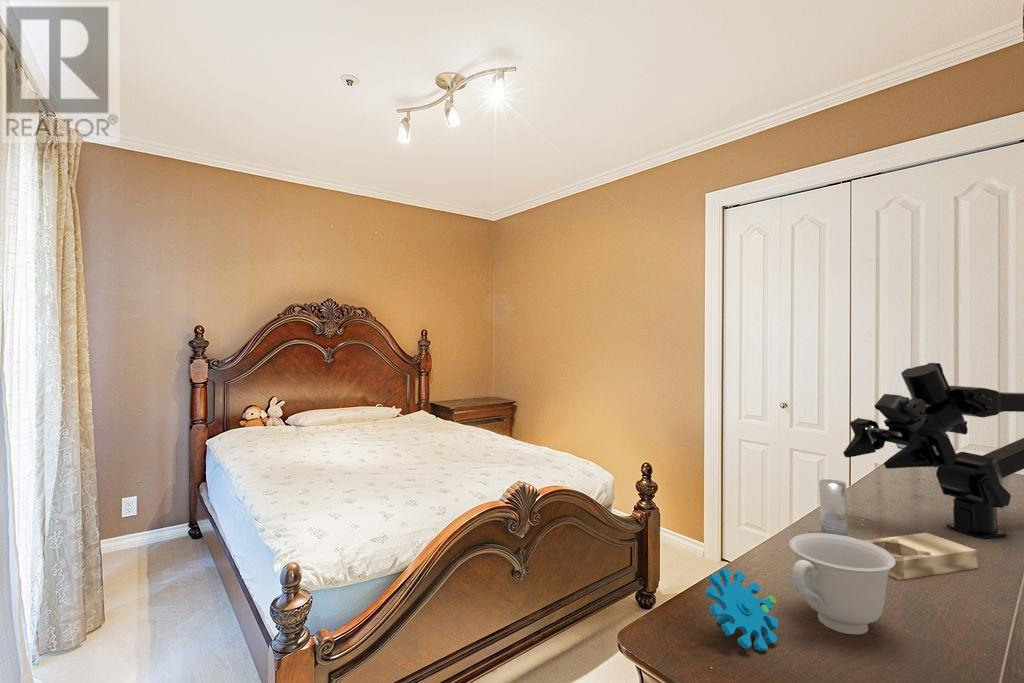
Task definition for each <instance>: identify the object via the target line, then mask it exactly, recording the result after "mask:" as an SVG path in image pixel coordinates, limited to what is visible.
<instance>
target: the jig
mask: <svg viewBox="0 0 1024 683" xmlns="http://www.w3.org/2000/svg"><path fill="white" fill-rule="evenodd" d="M863 541H866V542H869V543H872V544H874V545H877V546H879V547H881V548H883V549H884V550H886V551H887V552H889V553H890V554H891V555H892V556H893V557H894V559H895V565H894V566H893V567H892V568H890V570H889V572H888V577H891V578H894V579H896V580H897V581H900V580H907V579H915V578H921V577H927V576H935V575H939V574H941V575H942V574H947V573H956V572H961V571H968V570H976V569H978V567H979V566H978V550H977V549H975V548H972V547H969V546H967V545H964V544H960V543H958V542H955V541H952V540H950V539H946V538H943V537H940V536H938V535H935V534H933V533H929V532H922V533H921V532H919V533H913V534H905V535H897V536H896V535H895V536H888V537H882V538H874V539H866V540H865V539H864V540H863ZM975 568H976V569H975Z"/></svg>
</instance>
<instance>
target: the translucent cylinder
mask: <svg viewBox="0 0 1024 683" xmlns="http://www.w3.org/2000/svg"><path fill="white" fill-rule="evenodd" d="M818 483H819V484H818V488H819V510H820V519H819V520H820V533H826V534H836V535H842V536H847V537H849V527H848V526H849V521H848V520H849V519H848V518H849V517H848V501H847V500H848V495H847V483H846V482H844V481H841V480H836V479H830V478H829V479H819V481H818Z"/></svg>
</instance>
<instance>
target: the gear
mask: <svg viewBox="0 0 1024 683" xmlns="http://www.w3.org/2000/svg"><path fill="white" fill-rule="evenodd" d="M731 576H733V579H734V580H733V583H732V582H731V580H730V578H731ZM745 580H746V575H745V574H744V573H743V572H741V571H740V570H737V571H735V572H734V573H733V575H732V572H731V570H730V569H729V568H725V567H722V568H720V569H719V570H718V573H717V572H715V573H712V574H711V575H710V576H709V577H708V581H709V582H710V584H712V585H710V586H708V587H707V588H706V590H705V595H706V597H708V598H709V599H712V600H714V601H715V602H717V603H718V604H717V603H713V604H711V605H710V606H709V609H710V610H709V611H710V614H711V616H712V617H715V618H716V623H717V624H718V623H719V624H723V625H720V627H721V630H722V631H723V633H724V634H725V635H726V636H727V637H729V636H732V635H733V634H734V633H735V631H736V629H738V630H741V632H742V635H741V636H740V637H738V638H737V643H738V645H739V646H741V647H742V648H743V649H745V650H747V649H749V648H750V647H752V640H751V635H752V634H753V635H754V638H755V640H754V641H753V647H754V649H755V650H756V651H760V652H764V651H766V650H768V645H771V644H773V643H775V642H777V641H778V637H777V635H776V634H775V633H774V632H773V631H774V630H775V629H777V628H778V627H779V620H778V619H777V618H776V617H774V616H771V615H770V614H768V613H769V611H771V610H773V605H775V604H776V603H777V599H776V598H775V596H773V595H771V594H770V595H768V596H766V597H765V598H763V599H760V598H758V597H756V596H754V595H757V594H758V593H760V592H761V591H762V590H761V588H760V586H759V585H758V584H757V582H756V581H752V582H751V583H750V584H748V586H747V587H744V586H743V585H742V584H741V583H742V582H744V581H745ZM721 581H722V582H723V584H722V582H721ZM719 624H718V625H719ZM762 632H763V635H762Z"/></svg>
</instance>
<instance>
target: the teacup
mask: <svg viewBox="0 0 1024 683" xmlns="http://www.w3.org/2000/svg"><path fill="white" fill-rule="evenodd" d="M788 545H789V547H790V549H791V550H792V551H793V552H794V554H795V557H796V562H795V563H794V564H793V566H792V567H793V568H792V572H791V578H792V580H791V581H792V583H793V586H794V588H795V590H797V592H798V593H800V594H801V595H803V596H804V598H805V601H806V602H807V604H808V605H809V606H810V607H811V608H812V609H813V610H814V611H816V612H817V619H818V621H819V622H820V623H821V624H823V625H824V626H825V627H827V628H828V629H830V630H833V631H836V632H839V633H841V634H846V635H856V636H857V635H864V634H866V633H867V632H868V631H869V624H872V623H875V622H876V621H877V620H878V619H880V617H881V616H882V614H883V611H884V607H885V604H886V603H885V602H886V591H887V585H888V584H887V582H888V577H889V575H888V572H889V570H890V568H892V567H893V566H894V565H895V559H894V557H893V556H892V555H891V554H890V553H889V552H887V551H886V550H884V549H883V548H881V547H879V546H877V545H874V544H872V543H869V542H866V541H864V540H863V539H859V538H856V537H851V536H848V537H847V536H842V535H836V534H826V533H821V532H820V533H819V532H813V533H812V532H811V533H803V534H802V533H801V534H798V535H796V536H793V538H792V537H791V539H790V540H789V543H788Z"/></svg>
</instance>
